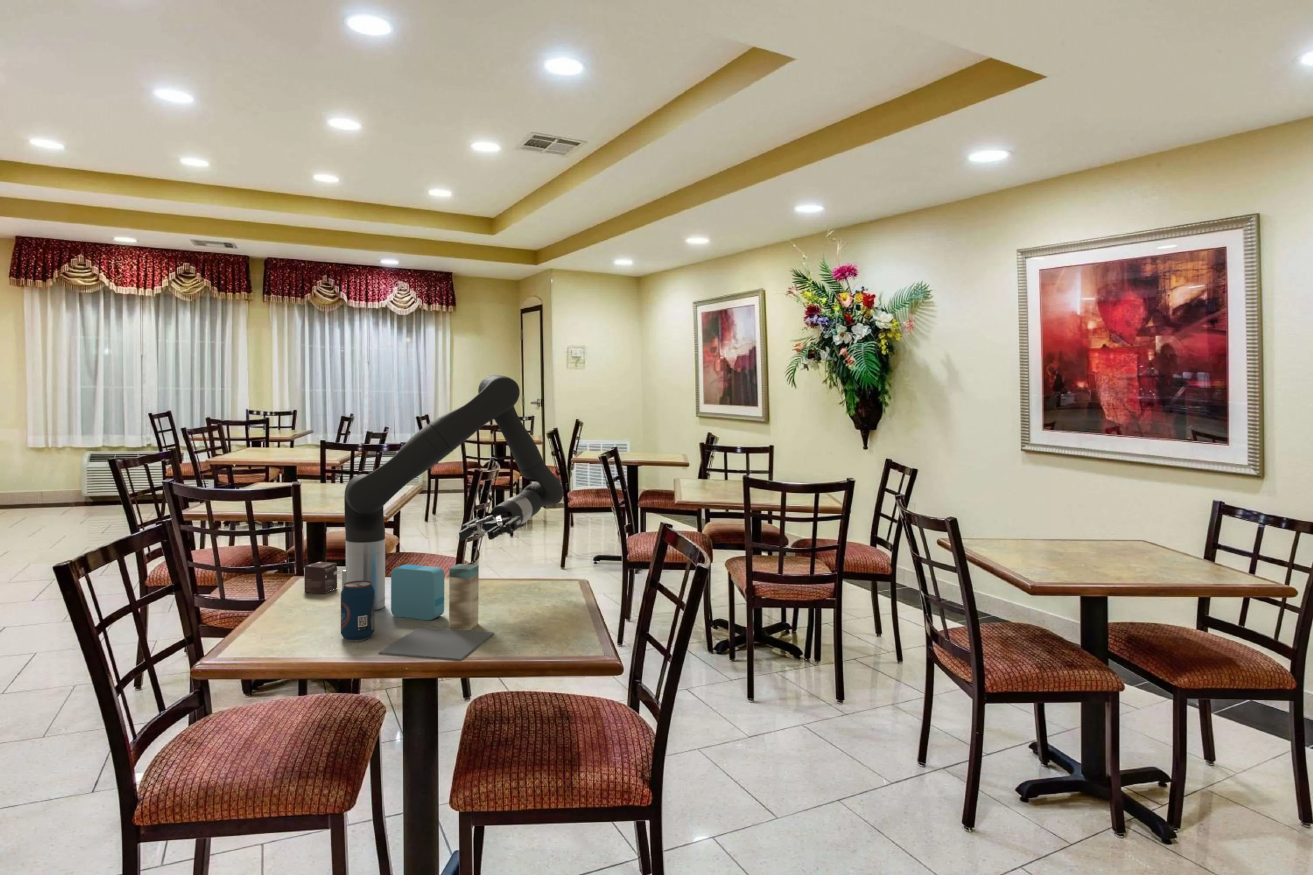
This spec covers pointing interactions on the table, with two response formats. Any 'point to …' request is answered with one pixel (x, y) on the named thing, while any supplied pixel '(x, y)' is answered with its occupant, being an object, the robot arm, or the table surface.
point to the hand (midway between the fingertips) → (474, 536)
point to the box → (320, 577)
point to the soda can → (357, 610)
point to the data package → (417, 592)
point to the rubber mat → (438, 643)
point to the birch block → (463, 596)
